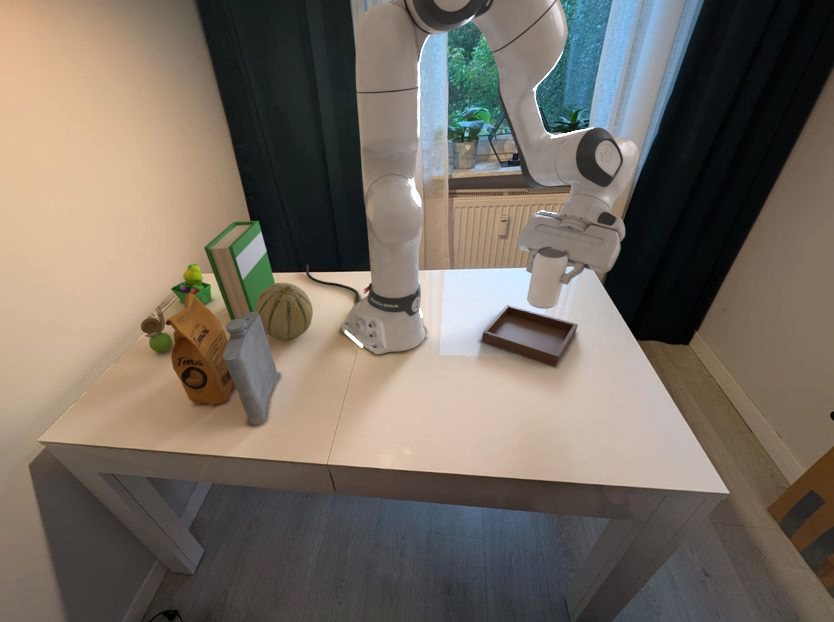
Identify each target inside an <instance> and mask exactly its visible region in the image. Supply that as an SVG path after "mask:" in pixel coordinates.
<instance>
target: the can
mask: <svg viewBox="0 0 834 622" xmlns="http://www.w3.org/2000/svg"><path fill="white" fill-rule="evenodd" d="M551 247H552V246H548V247H542V248H540V249H539V250H538V253H537V255H536V256H535V259H534V263H533V269H532V273H530V280H529V286H528V291H527V296H526V301H527V302H528V304H529V305H530V306H531V307H534V308H537V309H540V310H541V309H542V310H543V309H544V310H546V309H547V310H548V309H552V308H554V307H555V306H557V305H558V303H559V300H560V296H561V291H562V288H563V285H564V284H563V283H561V282H560V281H559V280H560V278H561V277H562V275H563V273H566V271H567V266H568V264H569V263H568V258H567V254H568V252H567V251H566V250H565V252H563V251H559V250H555V249H549V248H551Z"/></svg>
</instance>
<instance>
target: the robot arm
mask: <svg viewBox="0 0 834 622" xmlns="http://www.w3.org/2000/svg"><path fill="white" fill-rule="evenodd" d="M470 22H471V23H473V24H474V25H475V26H476V27H477V28H478V29H479V31H480V32H481V33H482V34H483V37H484V40H485V41H486V44H487V46H488V47H489V51H490V52H491V55H492V56H493V59H494V62H495V64H496V67H497V72H498V79H497V94H498V98H499V102H500V105H501V109H502V112H503V115H504V118H505V120H506V124H507V126H508V128H509V132H510V134H511V137H512V139H513V142H514V144H515V148H516V150H517V155H518V159H519V165H520V171H521V176H522V178H523V180H524V181H525V183H526V184H527V185H528V186H529V187H531V188H533V189H535V190H536V189H537V190H541V189H546V188H551V187H557V186H570V187H571V188H572V189H573V190H572V192H571V193H570V195H569V196H568V198H567V199H566V201H565V203H564V205H563V206H562V208H561V209H560V211H559V213H555V212H549V211H546V210H540V211H538V212H535V213H533V214H532V215H531V216H530V217H529V219H528V220H527V223H526V224H525V226H524V227H523V228H522V230H521V231H520V232H519V234H518V236H517V237H516V244H517V247H518V248H519V249H520V250H522V251H525V252H528V258H529V259H528V261H529V263H528V264H527V266H526V268H525V270H526V272H527V273H529V274H532V269H533V263H534V259H535V256H536V255H537V253H538V250H539V249H540V248H542V247H548V246H552V247H551V248H549V249H555V250H559V251H563V252H565V250H566V251H567V252H568V254H567V258H568V263H567V264H569V265H573V269H572V270H570V271H569V272H568V273H566V272H565V273H563V275H562V277H561V278H560V280H559V281H560V282H561V283H563V284H562V285H566V286H568V285H569V284H570V282H571V281H572V279H574V278H575V277H577V276H579V275H580V274H582V273H583V272H584V270H585V269H586V270H588V271H593V272H597V273H600V274H606V273H607V272H610V271H611V270H612V268H613V267H614V265H615V263H616V261H617V259H618V257H619V255H620V252H621V249H622V247H621V246H622V245H621V242H622V241H623V240H624V238H625V237H626V226H625V223H624V221H623V219H622V218H621V217H619V216H618V215H616V214H614V213H613V212H612V210H613V206H614V205H615V203H616V202H617V200H618V199H619V198H621V196H622V195H623V193H624V191H625V190H626V188H627V186H628V184H629V183H630V181H631V179H632V177H633V175H634V174H635V171H636V168H637V165H638V163H639V159H640V150H639V147H638V146H637V145H636V143H635V142H633V140H630V139H629V138H626V137H622V136H617V137H616V136H614V137H613V136H612V134H611V133H610V132H609V131H608V130H607V129H605V128H603V127H590V128H585V129H579V130H574V131H571V132H567V133H562V134H558V135H556V134H555V135H554V134H552V133H550V132H547V130H546V129H545V127H544V126H545V125H544V123H543V120H542V116H541V113H540V110H539V106H538V103H537V99H536V91H537V87H538V86H539V85H540V84H541V82H543V80H544V79H545V78H547V76H548V75H549V74H550V73H551V71H552V70H553V69H554V68H555V67H556V65H557V64H558V62H559V60H560V59H561V57H562V55H563V52H564V50H565V48H566V44H567V40H568V35H569V33H568V31H569V30H568V23H567V22H568V21H567V17H566V14H565V10H564V8H563V5H562V2H561V0H391V1H386V2H379V3H377V4H374V5H372V6H371V7H370V8H368V9H366V10H365V12H364V13H363V14H362V15H361V17H360V19H359V21H358V25H357V31H356V43H355V44H356V45H355V90H356V91H355V92H356V103H357V104H356V105H357V117H358V127H359V128H358V131H359V132H358V133H359V141H360V142H359V144H360V145H359V146H360V161H361V176H362V191H363V192H362V193H363V203H364V209H365V217H366V229H367V238H368V239H367V240H368V255H369V257H368V258H369V267H370V279H371V282H370V283H369V284H368V285H367V286H366V287H365V288H364V289H362V291H363V294H364V295H365V294H368V295H366V296H365V297H363V298H361V297H360V294H359V291H358V290H357V289H356V288H353V287H351V286H348V285H345V284H343V283H337V282H331V281H323V280H321V279H318V278H315V277H313V276H311V274H310V269H309V267H310V265H309V264H308V263H307V264H306V265H305V274H306V276H307V278H308V279H309V280H311V281H313V282H315V283H318V284H321V285H323V286H324V285H325V286H331V287H338V288H342V289H345V290H347V291H351V292H352V293H353V294H355V299H356V302H355V304H354V305H352V307H351V309H350V311H349V317H348V318H347V319H346V320H345V321H344V322H343V324H342V326H341V332H342V333H343V334H344V335H345V336H347V337H349V338H350V339H351V340H352V341H353V342H354V343H356V344H357V345H358V346H359V347H360V348H366V349H367V350H368V351H370V352H372V353H373V354H375V355H383V354H386V353H390V352H391V353H392V352H395V353H397V352H405V351H409V350H412V349H415V348H416V347H418V346H419V345H421V344H422V343H423V341H424V340H425V338H426V331H425V327H424V325H423V322H422V318H423V317H424V315H423V312H422V310H421V300H422V292H421V291H422V290H421V283H420V281H419V280H420V272H419V271H420V248H421V241H422V233H423V223H424V204H423V201H422V197H421V196H420V194H419V192H418V190H417V186H416V164H417V155H418V147H419V142H420V124H421V123H420V122H421V121H420V117H421V116H420V115H421V112H420V110H421V104H420V103H421V69H420V67H421V59H422V54H423V49H424V46H425V44H426V42H427V40H428V39H429V38H430V36H438V35H443V34H446V33H448V32H450V31H453V30H457V29H459V28H460V27H463V26H464V25H466V24H468V23H470Z"/></svg>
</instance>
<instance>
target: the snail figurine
mask: <svg viewBox="0 0 834 622" xmlns="http://www.w3.org/2000/svg"><path fill="white" fill-rule="evenodd" d="M157 309H158V311H157V313H156V315H157V317H158V318H155V317H147V318H145V319H144V320H143V321H142V322H141V323H140V329H141V331H142V332H143V333H145V337H146V338H149V341H148V345H149V347H150V349H151V350H152V351H154V352H155V353H158V354H163V353H164V354H165V353H167V352H168V351H170V350H172V348H173V345H174V340H173V339H172V336H170V334H168V333H166V332H163V331H164V330H165V326H166V324H165V323H166V321H165V317H164V311H162V308H161V307H160V306H159V305H158V306H157Z"/></svg>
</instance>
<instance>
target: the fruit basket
mask: <svg viewBox="0 0 834 622" xmlns="http://www.w3.org/2000/svg"><path fill="white" fill-rule="evenodd" d="M182 278H183V280H184V281H182V282H180V283H178V284H177V285H174V286H172V287H171V288H170V290H171V291H172V292H173V293H174V294H175V296H176V297H177V298H178V299H179V300H180V301H181V302H182V303H185V296H186V295H187V294H189V293H192V294H193V295H194V296H195V297H196V298H197V299H199V300H200V301H201V302H202V303H203V304H204V305H205V304H207V303H209V302H210V301H212V290H211V289H212V284H211V283H208V282H204V281H203V274H202V272H201V267H199V266H198V264H197V263H190V264H188V265H187V270H185V271H184V273H183V277H182Z"/></svg>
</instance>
